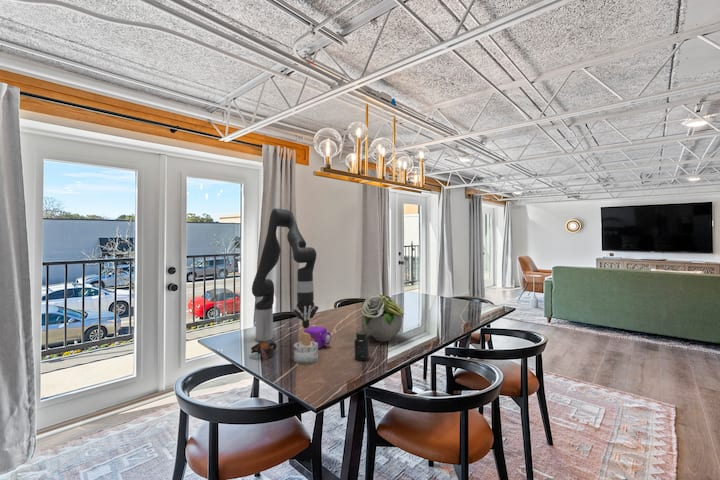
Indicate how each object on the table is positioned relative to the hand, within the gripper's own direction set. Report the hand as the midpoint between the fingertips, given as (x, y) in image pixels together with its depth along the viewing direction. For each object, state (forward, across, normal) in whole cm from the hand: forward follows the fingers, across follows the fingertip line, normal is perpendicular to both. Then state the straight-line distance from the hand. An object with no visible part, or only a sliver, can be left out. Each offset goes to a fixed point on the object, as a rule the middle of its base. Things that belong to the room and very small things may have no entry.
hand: (305, 327), depth 158 cm
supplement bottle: (+15, -21, +15) cm, 30 cm away
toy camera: (+15, -14, -13) cm, 24 cm away
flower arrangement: (+15, -48, -1) cm, 50 cm away
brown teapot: (+15, +13, -17) cm, 26 cm away
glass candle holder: (+15, 0, 0) cm, 15 cm away
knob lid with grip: (+10, 0, 0) cm, 10 cm away
